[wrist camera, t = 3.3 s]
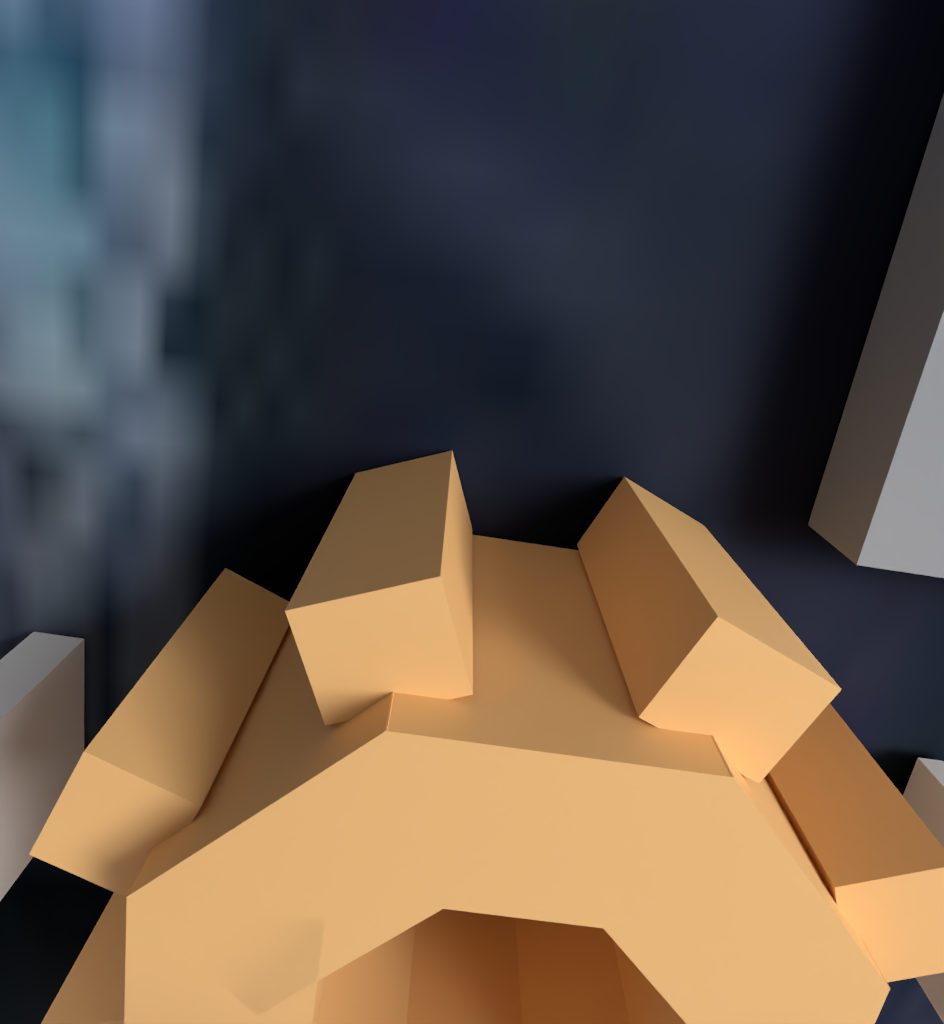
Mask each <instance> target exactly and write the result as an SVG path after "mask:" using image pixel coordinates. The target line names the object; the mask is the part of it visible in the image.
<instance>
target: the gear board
mask: <svg viewBox="0 0 944 1024" xmlns="http://www.w3.org/2000/svg"><path fill="white" fill-rule="evenodd" d="M808 526H810V527H811V528H812V529H813V530H815V531H816V532H817V533H818V534H819V535H821V536H822V537H823V538H824V539H825V540H827V541H828V542H829V543H830V544H832V545H833V546H834V547H835V548H836V549H838V550H839V551H840V552H841V553H843V554H844V555H845V556H846V557H847V558H849V559H850V560H851V561H852V562H853V563H855V564H856V565H860V566H866V567H873V568H880V569H886V570H893V571H900V572H906V573H913V574H920V575H927V576H933V577H940V578H944V94H943V97H942V100H941V103H940V106H939V110H938V113H937V116H936V119H935V122H934V126H933V129H932V132H931V135H930V138H929V141H928V145H927V148H926V151H925V154H924V157H923V160H922V164H921V167H920V170H919V173H918V176H917V180H916V183H915V186H914V189H913V192H912V195H911V199H910V202H909V205H908V208H907V211H906V214H905V218H904V221H903V224H902V227H901V230H900V234H899V237H898V240H897V243H896V246H895V249H894V253H893V256H892V259H891V262H890V265H889V268H888V272H887V275H886V278H885V281H884V284H883V288H882V291H881V294H880V297H879V300H878V303H877V307H876V310H875V313H874V316H873V319H872V322H871V326H870V329H869V332H868V335H867V338H866V342H865V345H864V348H863V351H862V354H861V357H860V361H859V364H858V367H857V370H856V373H855V376H854V380H853V383H852V386H851V389H850V392H849V395H848V399H847V402H846V405H845V408H844V411H843V415H842V418H841V421H840V424H839V427H838V430H837V434H836V437H835V440H834V443H833V446H832V449H831V453H830V456H829V459H828V462H827V465H826V469H825V472H824V475H823V478H822V481H821V484H820V488H819V491H818V494H817V497H816V500H815V503H814V507H813V510H812V513H811V516H810V519H809V523H808Z"/></svg>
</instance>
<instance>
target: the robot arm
mask: <svg viewBox="0 0 944 1024" xmlns="http://www.w3.org/2000/svg"><path fill="white" fill-rule="evenodd" d="M83 752H84V639H82V638H75V637H68V636H61V635H54V634H47V633H40V632H33V633H31V634H30V635H29V636H28V637H27V638H26V639H24V640H23V641H22V642H21V643H20V644H18V645H17V646H16V647H15V648H14V649H12V650H11V651H10V652H9V653H8V654H7V655H5V656H4V657H3V658H2V659H1V660H0V901H1V900H2V898H3V897H4V896H5V894H6V893H7V892H8V890H9V889H10V887H11V886H12V885H13V883H14V882H15V881H16V879H17V878H18V877H19V875H20V874H21V873H22V871H23V870H24V869H25V867H26V866H27V865H28V863H29V862H30V861H31V859H32V858H33V856H31V855H29V853H30V852H31V850H32V848H33V846H34V844H35V842H36V840H37V838H38V837H39V835H40V833H41V831H42V829H43V827H44V825H45V823H46V822H47V820H48V818H49V816H50V814H51V812H52V810H53V808H54V807H55V805H56V803H57V801H58V799H59V797H60V795H61V793H62V791H63V790H64V788H65V786H66V784H67V782H68V780H69V778H70V776H71V775H72V773H73V771H74V769H75V767H76V765H77V763H78V761H79V760H80V758H81V756H82V754H83ZM903 797H904V798H905V799H906V801H907V802H908V803H909V805H910V806H911V807H912V808H913V810H914V811H915V812H916V813H917V815H918V816H919V817H920V818H921V820H922V821H923V822H924V824H925V825H926V826H927V827H928V829H929V830H930V831H931V832H932V834H933V835H934V836H935V837H936V839H937V840H938V841H939V843H940V844H941V845H942V846H943V848H944V761H940V760H933V759H926V758H919V757H918V759H917V761H916V764H915V766H914V769H913V771H912V774H911V776H910V779H909V781H908V784H907V786H906V789H905V791H904V794H903ZM916 979H917V981H918V982H919V984H920V985H921V987H922V989H923V990H924V992H925V994H926V995H927V997H928V999H929V1000H930V1002H931V1004H932V1005H933V1007H934V1008H935V1010H936V1012H937V1013H938V1015H939V1017H940V1018H941V1020H942V1022H943V1023H944V972H943V973H938V974H932V975H926V976H921V977H916Z"/></svg>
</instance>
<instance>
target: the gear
mask: <svg viewBox="0 0 944 1024" xmlns="http://www.w3.org/2000/svg"><path fill="white" fill-rule="evenodd" d="M577 546H578V549H579V550H573V549H566V548H560V547H553V546H546V545H539V544H532V543H526V542H519V541H512V540H505V539H499V538H492V537H485V536H478V535H472V526H471V522H470V518H469V514H468V510H467V506H466V502H465V498H464V494H463V491H462V487H461V483H460V479H459V475H458V471H457V467H456V463H455V459H454V455H453V451H448V452H443V453H439V454H435V455H430V456H426V457H422V458H418V459H413V460H409V461H405V462H401V463H396V464H392V465H388V466H384V467H379V468H375V469H371V470H367V471H362V472H358V473H356V474H355V476H354V478H353V480H352V481H351V483H350V485H349V487H348V489H347V491H346V493H345V495H344V497H343V499H342V501H341V503H340V505H339V507H338V509H337V511H336V513H335V515H334V516H333V518H332V520H331V522H330V524H329V526H328V528H327V530H326V532H325V534H324V536H323V538H322V540H321V542H320V544H319V546H318V548H317V549H316V551H315V553H314V555H313V557H312V559H311V561H310V563H309V565H308V567H307V569H306V571H305V573H304V575H303V577H302V579H301V581H300V582H299V584H298V586H297V588H296V590H295V592H294V594H293V596H292V598H291V600H290V602H289V601H287V600H285V599H283V598H281V597H279V596H277V595H276V594H274V593H272V592H270V591H268V590H266V589H264V588H262V587H261V586H259V585H257V584H255V583H253V582H251V581H249V580H247V579H246V578H244V577H242V576H240V575H238V574H236V573H234V572H232V571H230V570H229V569H227V568H225V569H224V570H223V572H222V573H221V574H220V575H219V577H218V578H217V579H216V581H215V582H214V583H213V584H212V586H211V587H210V588H209V590H208V591H207V592H206V594H205V595H204V596H203V597H202V599H201V600H200V601H199V603H198V604H197V605H196V607H195V608H194V609H193V610H192V612H191V613H190V614H189V616H188V617H187V618H186V620H185V621H184V622H183V623H182V625H181V626H180V627H179V629H178V630H177V631H176V632H175V634H174V635H173V636H172V638H171V639H170V640H169V642H168V643H167V644H166V645H165V647H164V648H163V649H162V651H161V652H160V653H159V655H158V656H157V657H156V658H155V660H154V661H153V662H152V664H151V665H150V666H149V668H148V669H147V670H146V671H145V673H144V674H143V675H142V677H141V678H140V679H139V680H138V682H137V683H136V684H135V686H134V687H133V688H132V690H131V691H130V692H129V693H128V695H127V696H126V697H125V699H124V700H123V701H122V703H121V704H120V705H119V706H118V708H117V709H116V710H115V712H114V713H113V714H112V716H111V717H110V718H109V719H108V721H107V722H106V723H105V725H104V726H103V727H102V728H101V730H100V731H99V732H98V734H97V735H96V736H95V738H94V739H93V740H92V741H91V743H90V744H89V745H88V747H87V748H86V749H85V751H84V752H83V754H82V756H81V758H80V760H79V761H78V763H77V765H76V767H75V769H74V771H73V773H72V775H71V776H70V778H69V780H68V782H67V784H66V786H65V788H64V790H63V791H62V793H61V795H60V797H59V799H58V801H57V803H56V805H55V807H54V808H53V810H52V812H51V814H50V816H49V818H48V820H47V822H46V823H45V825H44V827H43V829H42V831H41V833H40V835H39V837H38V838H37V840H36V842H35V844H34V846H33V848H32V850H31V852H30V853H29V855H31V856H33V857H36V858H38V859H40V860H42V861H45V862H47V863H49V864H51V865H54V866H56V867H58V868H61V869H63V870H65V871H67V872H70V873H72V874H74V875H76V876H79V877H81V878H83V879H85V880H88V881H90V882H92V883H94V884H97V885H99V886H101V887H103V888H106V889H108V890H110V891H112V892H114V893H113V895H112V897H111V899H110V900H109V902H108V904H107V906H106V908H105V909H104V911H103V913H102V915H101V917H100V918H99V920H98V922H97V924H96V926H95V927H94V929H93V931H92V933H91V935H90V936H89V938H88V940H87V942H86V944H85V945H84V947H83V949H82V951H81V953H80V954H79V956H78V958H77V960H76V962H75V963H74V965H73V967H72V969H71V971H70V972H69V974H68V976H67V978H66V980H65V981H64V983H63V985H62V987H61V989H60V990H59V992H58V994H57V996H56V998H55V999H54V1001H53V1003H52V1005H51V1007H50V1008H49V1010H48V1012H47V1014H46V1016H45V1017H44V1019H43V1021H42V1023H41V1024H875V1022H876V1020H877V1017H878V1015H879V1013H880V1011H881V1008H882V1006H883V1004H884V1001H885V999H886V997H887V995H888V992H889V990H890V987H889V985H888V984H887V982H892V981H898V980H903V979H909V978H915V977H921V976H926V975H932V974H938V973H943V972H944V848H943V846H942V845H941V844H940V843H939V841H938V840H937V839H936V837H935V836H934V835H933V834H932V832H931V831H930V830H929V829H928V827H927V826H926V825H925V824H924V822H923V821H922V820H921V818H920V817H919V816H918V815H917V813H916V812H915V811H914V810H913V808H912V807H911V806H910V805H909V803H908V802H907V801H906V799H905V798H904V797H903V796H902V794H901V793H900V792H899V791H898V789H897V788H896V787H895V785H894V784H893V783H892V782H891V780H890V779H889V778H888V777H887V775H886V774H885V773H884V772H883V770H882V769H881V768H880V766H879V765H878V764H877V763H876V761H875V760H874V759H873V758H872V756H871V755H870V754H869V752H868V751H867V750H866V749H865V747H864V746H863V745H862V744H861V742H860V741H859V740H858V739H857V737H856V736H855V735H854V733H853V732H852V731H851V730H850V728H849V727H848V726H847V725H846V723H845V722H844V721H843V719H842V718H841V717H840V716H839V714H838V713H837V712H836V711H835V709H834V708H833V707H832V706H831V704H830V702H831V701H832V700H833V699H834V697H835V696H836V695H837V694H838V693H839V692H840V691H841V688H840V687H839V686H838V684H837V683H836V682H835V681H834V680H833V678H832V677H831V676H830V675H829V674H828V673H827V671H826V670H825V669H824V668H823V667H822V665H821V664H820V663H819V662H818V661H817V659H816V658H815V657H814V656H813V655H812V653H811V652H810V651H809V650H808V649H807V648H806V646H805V645H804V644H803V643H802V642H801V640H800V639H799V638H798V637H797V636H796V634H795V633H794V632H793V631H792V630H791V628H790V627H789V626H788V625H787V624H786V623H785V621H784V620H783V619H782V618H781V617H780V615H779V614H778V613H777V612H776V611H775V609H774V608H773V607H772V606H771V605H770V603H769V602H768V601H767V600H766V599H765V598H764V596H763V595H762V594H761V593H760V592H759V590H758V589H757V588H756V587H755V586H754V584H753V583H752V582H751V581H750V580H749V578H748V577H747V576H746V575H745V574H744V573H743V571H742V570H741V569H740V568H739V567H738V565H737V564H736V563H735V562H734V561H733V559H732V558H731V557H730V556H729V555H728V553H727V552H726V551H725V550H724V549H723V548H722V546H721V545H720V544H719V543H718V542H717V540H716V539H715V538H714V537H713V536H712V534H711V533H710V532H709V531H708V530H707V528H706V527H705V526H704V525H702V524H701V523H699V522H698V521H696V520H694V519H693V518H691V517H689V516H688V515H686V514H684V513H683V512H681V511H680V510H678V509H676V508H675V507H673V506H671V505H670V504H668V503H666V502H665V501H663V500H662V499H660V498H658V497H657V496H655V495H653V494H652V493H650V492H648V491H647V490H645V489H644V488H642V487H640V486H639V485H637V484H635V483H634V482H632V481H631V480H629V479H627V478H626V477H624V478H623V479H622V481H621V482H620V484H619V485H618V486H617V488H616V489H615V491H614V492H613V494H612V495H611V496H610V498H609V499H608V501H607V502H606V504H605V505H604V506H603V508H602V509H601V511H600V512H599V514H598V515H597V516H596V518H595V519H594V521H593V522H592V524H591V525H590V526H589V528H588V529H587V531H586V532H585V534H584V535H583V536H582V538H581V539H580V541H579V542H578V543H577Z"/></svg>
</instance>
